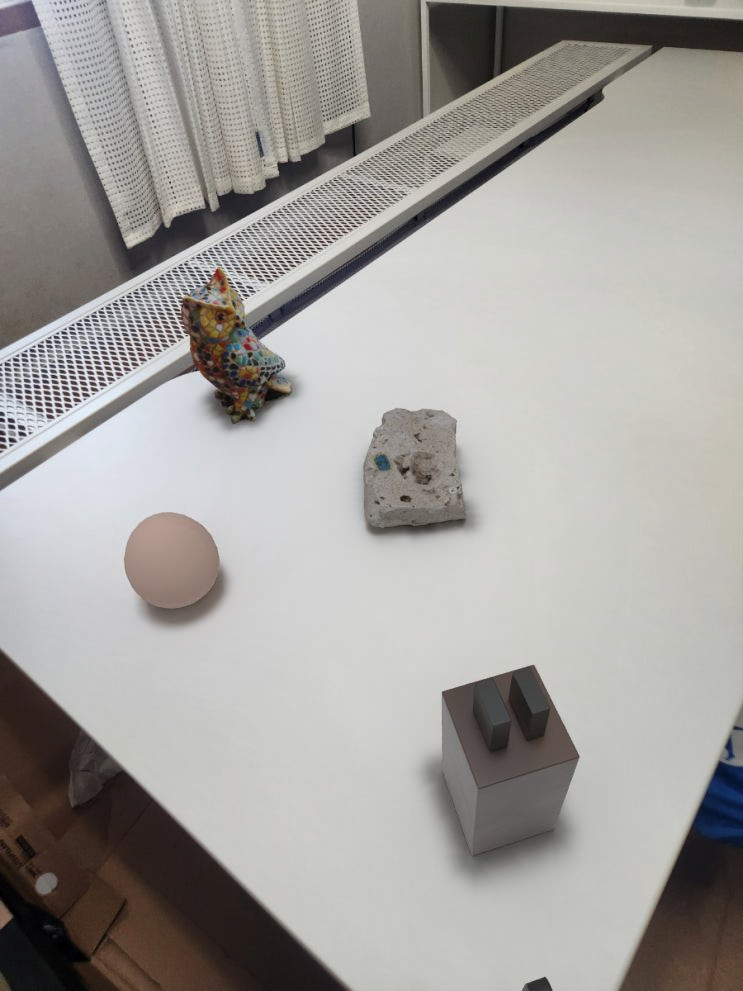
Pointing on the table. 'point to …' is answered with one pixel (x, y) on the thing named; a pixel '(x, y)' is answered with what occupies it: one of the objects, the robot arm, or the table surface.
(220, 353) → the figurine
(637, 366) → the table surface
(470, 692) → the knife block
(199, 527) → the egg
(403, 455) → the stone
